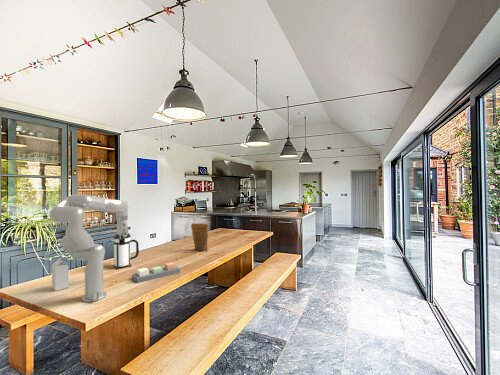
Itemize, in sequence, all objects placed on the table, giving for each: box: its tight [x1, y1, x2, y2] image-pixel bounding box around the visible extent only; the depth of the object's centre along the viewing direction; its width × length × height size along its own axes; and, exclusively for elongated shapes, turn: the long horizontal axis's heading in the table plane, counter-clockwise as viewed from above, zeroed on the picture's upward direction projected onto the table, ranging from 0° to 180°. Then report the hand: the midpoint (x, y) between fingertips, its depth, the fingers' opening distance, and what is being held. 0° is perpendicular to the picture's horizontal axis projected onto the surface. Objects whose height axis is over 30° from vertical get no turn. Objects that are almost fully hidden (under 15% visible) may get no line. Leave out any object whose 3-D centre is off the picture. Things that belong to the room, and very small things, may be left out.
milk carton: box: [51, 257, 69, 292], centre depth 167 cm, size 7×7×19 cm
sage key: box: [150, 266, 162, 273], centre depth 189 cm, size 6×6×5 cm
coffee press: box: [111, 232, 140, 270], centre depth 211 cm, size 17×16×30 cm
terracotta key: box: [163, 261, 176, 270], centre depth 196 cm, size 6×6×5 cm
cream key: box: [136, 267, 150, 277], centre depth 182 cm, size 6×6×5 cm
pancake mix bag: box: [190, 222, 209, 252], centre depth 259 cm, size 7×19×28 cm, turn 65°
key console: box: [131, 265, 181, 284], centre depth 189 cm, size 12×31×3 cm, turn 131°
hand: (122, 244), depth 179 cm, fingers closed
